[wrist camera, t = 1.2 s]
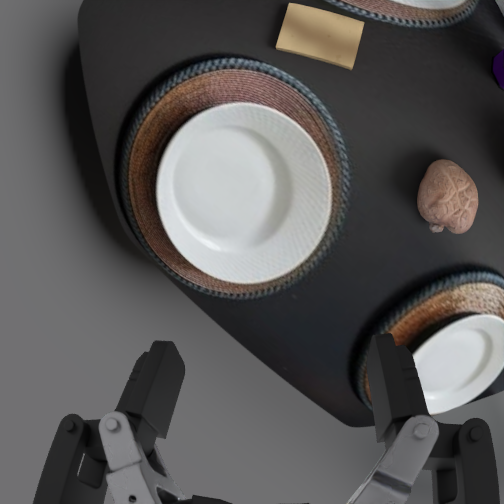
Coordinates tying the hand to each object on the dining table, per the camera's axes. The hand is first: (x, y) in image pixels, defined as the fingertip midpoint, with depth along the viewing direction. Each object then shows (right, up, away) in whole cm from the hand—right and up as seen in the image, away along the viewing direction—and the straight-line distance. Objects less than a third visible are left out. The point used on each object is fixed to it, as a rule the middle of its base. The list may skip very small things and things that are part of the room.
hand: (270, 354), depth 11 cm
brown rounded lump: (+20, +11, +16) cm, 28 cm away
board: (+6, +26, +12) cm, 30 cm away
